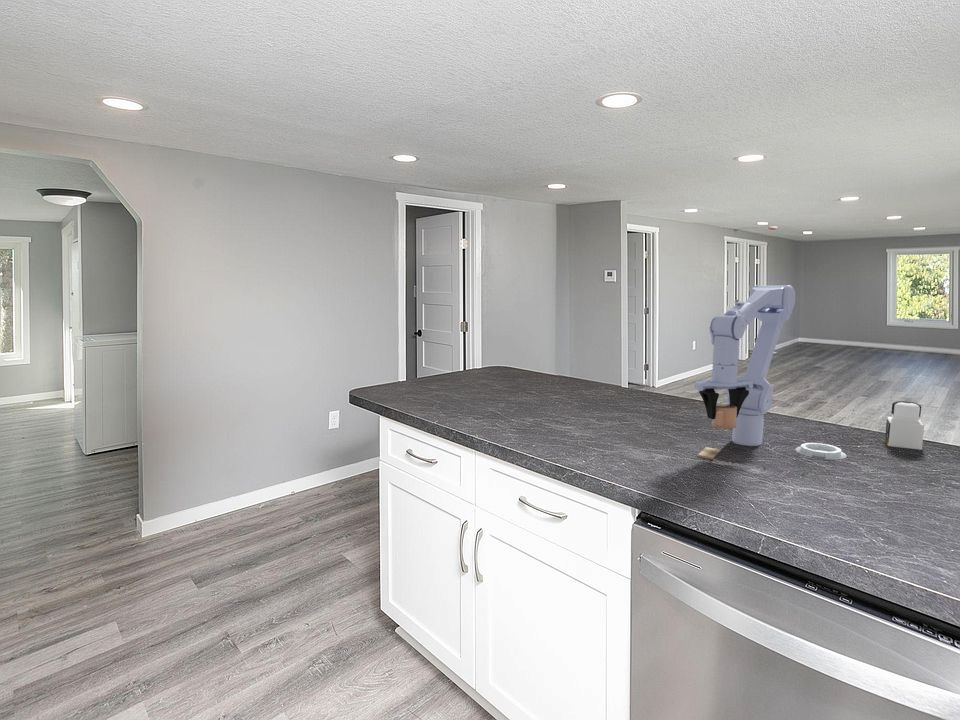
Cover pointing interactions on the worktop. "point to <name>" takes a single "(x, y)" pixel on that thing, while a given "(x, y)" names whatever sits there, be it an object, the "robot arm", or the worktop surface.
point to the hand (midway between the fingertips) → (722, 417)
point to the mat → (709, 453)
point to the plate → (820, 451)
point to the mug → (725, 416)
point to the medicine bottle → (905, 426)
